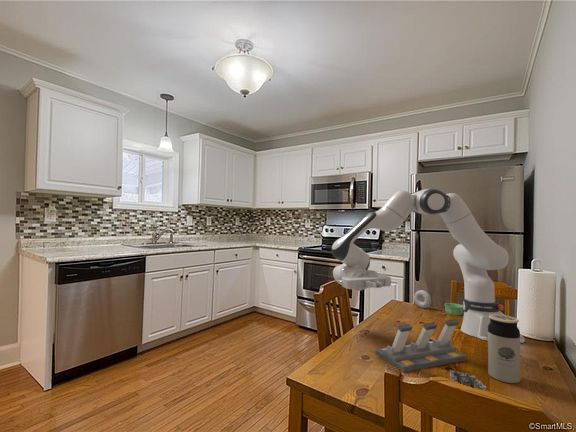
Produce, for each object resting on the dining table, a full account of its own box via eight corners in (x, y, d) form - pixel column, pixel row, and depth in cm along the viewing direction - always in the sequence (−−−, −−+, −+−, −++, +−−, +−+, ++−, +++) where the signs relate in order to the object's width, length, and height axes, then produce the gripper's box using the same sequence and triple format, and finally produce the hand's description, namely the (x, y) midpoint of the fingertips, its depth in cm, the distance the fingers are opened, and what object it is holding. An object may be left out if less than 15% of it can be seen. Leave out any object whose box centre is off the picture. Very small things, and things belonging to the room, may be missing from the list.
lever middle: (413, 346, 105) (424, 323, 100) (422, 344, 106) (434, 322, 102) (416, 350, 104) (427, 326, 99) (425, 348, 105) (437, 325, 101)
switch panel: (375, 353, 107) (375, 339, 107) (433, 344, 116) (433, 331, 116) (403, 372, 93) (403, 355, 94) (466, 360, 103) (466, 345, 103)
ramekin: (466, 316, 154) (466, 307, 154) (447, 315, 156) (447, 306, 156) (460, 311, 163) (460, 303, 163) (442, 310, 165) (442, 302, 165)
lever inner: (435, 342, 108) (446, 320, 104) (444, 341, 110) (455, 318, 106) (438, 346, 107) (449, 323, 103) (447, 345, 108) (458, 322, 104)
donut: (432, 309, 166) (432, 291, 166) (428, 310, 164) (428, 292, 164) (416, 305, 174) (416, 288, 175) (412, 306, 172) (412, 288, 173)
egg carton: (489, 406, 77) (489, 390, 77) (456, 400, 79) (456, 384, 79) (477, 385, 87) (477, 370, 87) (448, 380, 89) (448, 366, 89)
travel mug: (489, 368, 97) (489, 312, 97) (520, 376, 92) (520, 317, 92) (486, 378, 91) (486, 317, 91) (520, 387, 85) (519, 323, 86)
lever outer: (389, 350, 101) (399, 325, 98) (399, 348, 103) (409, 323, 99) (392, 353, 100) (402, 328, 96) (402, 352, 102) (412, 327, 98)
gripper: (335, 272, 121) (354, 278, 108) (377, 270, 128) (400, 275, 115) (335, 288, 121) (354, 296, 108) (378, 285, 128) (400, 292, 115)
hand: (378, 285), depth 111 cm, fingers closed
